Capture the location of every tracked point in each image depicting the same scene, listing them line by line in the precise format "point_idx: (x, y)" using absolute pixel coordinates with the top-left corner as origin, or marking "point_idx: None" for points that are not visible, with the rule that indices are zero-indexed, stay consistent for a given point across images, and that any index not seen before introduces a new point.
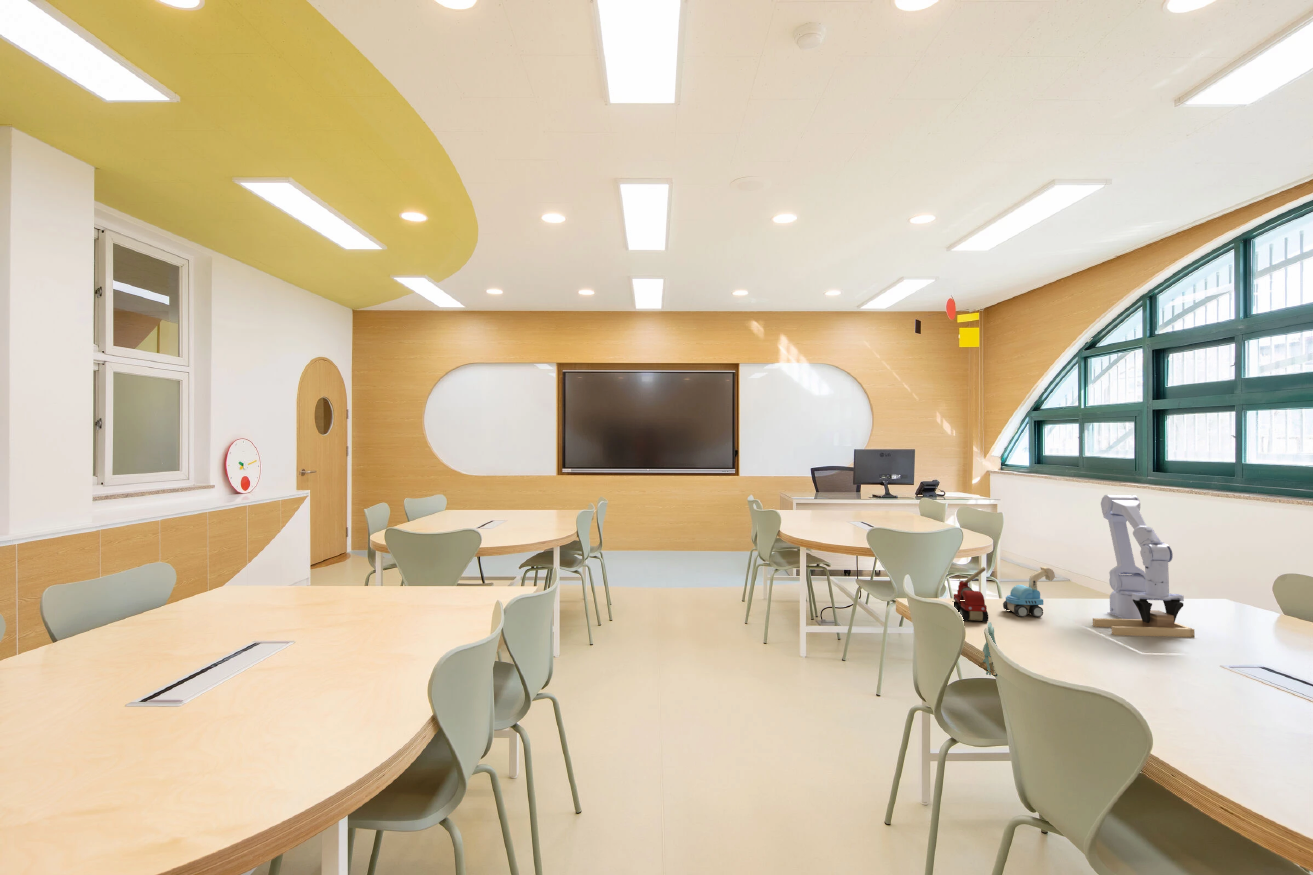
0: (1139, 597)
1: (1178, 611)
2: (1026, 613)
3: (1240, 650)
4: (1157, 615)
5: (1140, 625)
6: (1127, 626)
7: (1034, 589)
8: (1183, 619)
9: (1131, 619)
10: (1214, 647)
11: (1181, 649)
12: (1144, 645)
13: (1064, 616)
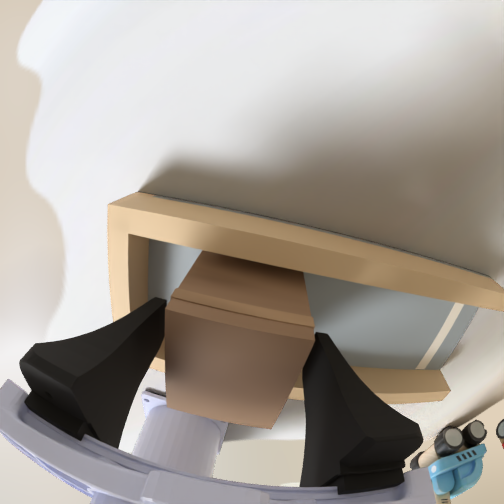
0: (412, 492)
1: (93, 332)
2: (470, 428)
3: (106, 30)
4: (311, 339)
5: None
6: None
7: (443, 494)
8: None
9: None
10: (177, 54)
11: (401, 59)
12: (496, 159)
13: None
